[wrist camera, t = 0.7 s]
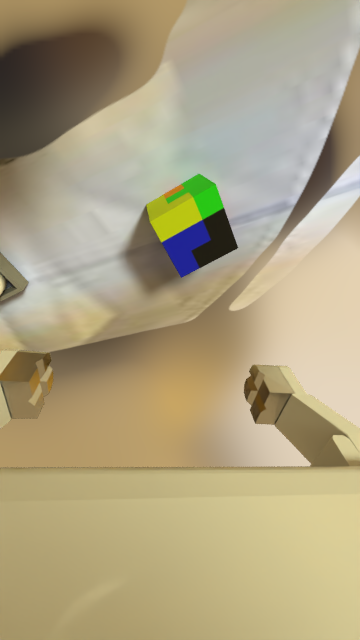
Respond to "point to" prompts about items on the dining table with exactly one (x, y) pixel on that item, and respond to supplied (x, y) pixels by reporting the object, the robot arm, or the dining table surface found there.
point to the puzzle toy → (192, 224)
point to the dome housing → (11, 279)
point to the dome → (2, 283)
